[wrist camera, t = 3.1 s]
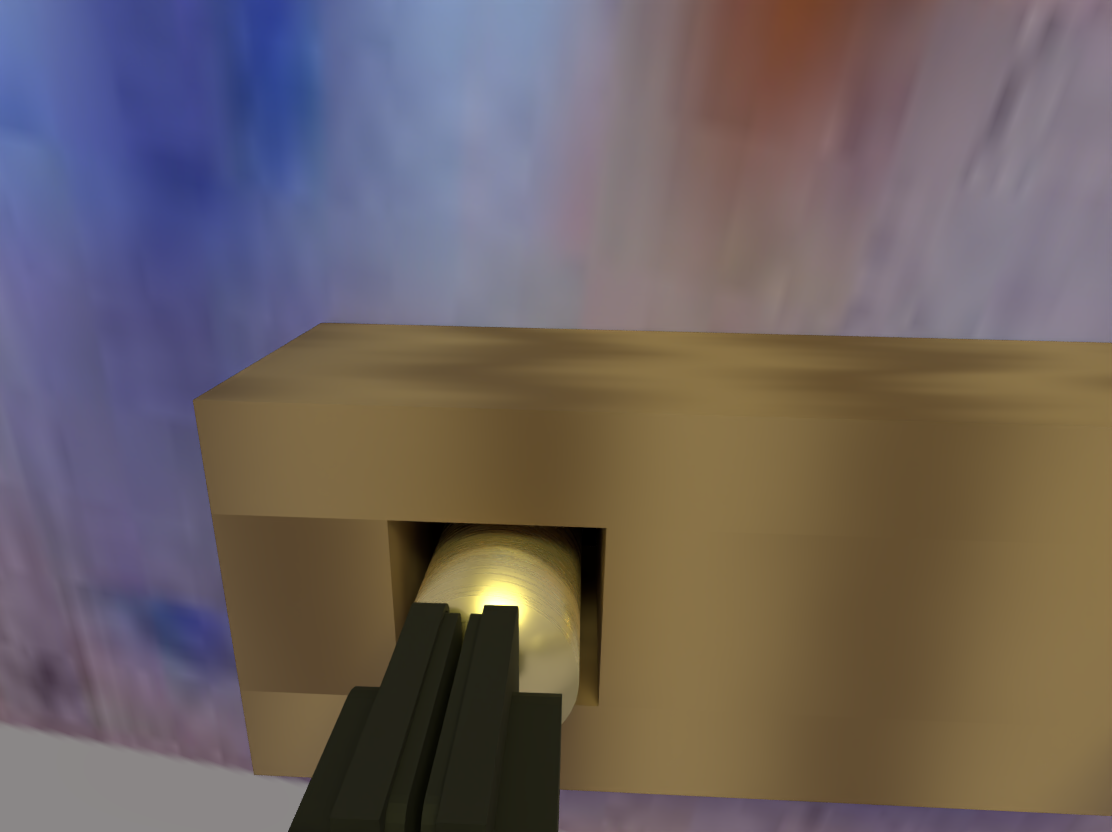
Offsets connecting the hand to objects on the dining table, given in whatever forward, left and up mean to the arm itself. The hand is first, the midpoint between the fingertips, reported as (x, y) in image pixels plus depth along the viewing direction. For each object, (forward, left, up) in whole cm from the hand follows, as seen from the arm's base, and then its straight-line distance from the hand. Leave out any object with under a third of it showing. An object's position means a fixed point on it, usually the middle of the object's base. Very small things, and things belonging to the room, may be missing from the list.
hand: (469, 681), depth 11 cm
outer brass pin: (0, 0, -6) cm, 6 cm away
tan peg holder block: (-7, 0, -8) cm, 11 cm away
